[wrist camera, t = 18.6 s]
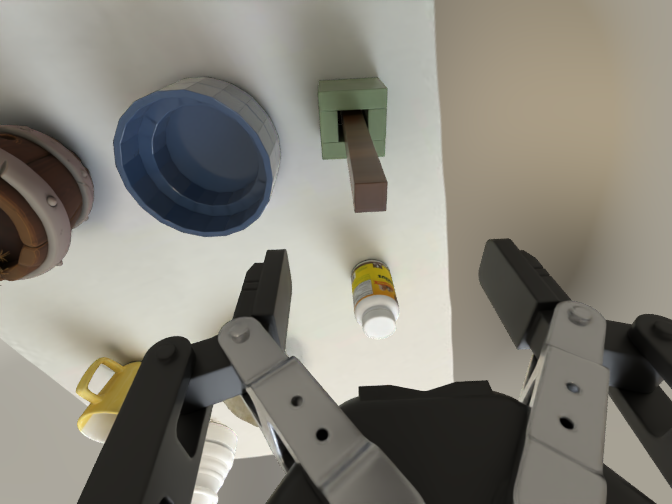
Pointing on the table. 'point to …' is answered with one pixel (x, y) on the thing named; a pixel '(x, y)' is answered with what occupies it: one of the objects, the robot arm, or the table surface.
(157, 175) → the blue round tub
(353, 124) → the brown stick
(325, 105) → the stick holder
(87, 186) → the flowerpot
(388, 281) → the supplement bottle
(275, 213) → the table surface
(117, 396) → the mug
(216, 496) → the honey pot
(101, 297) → the table surface
